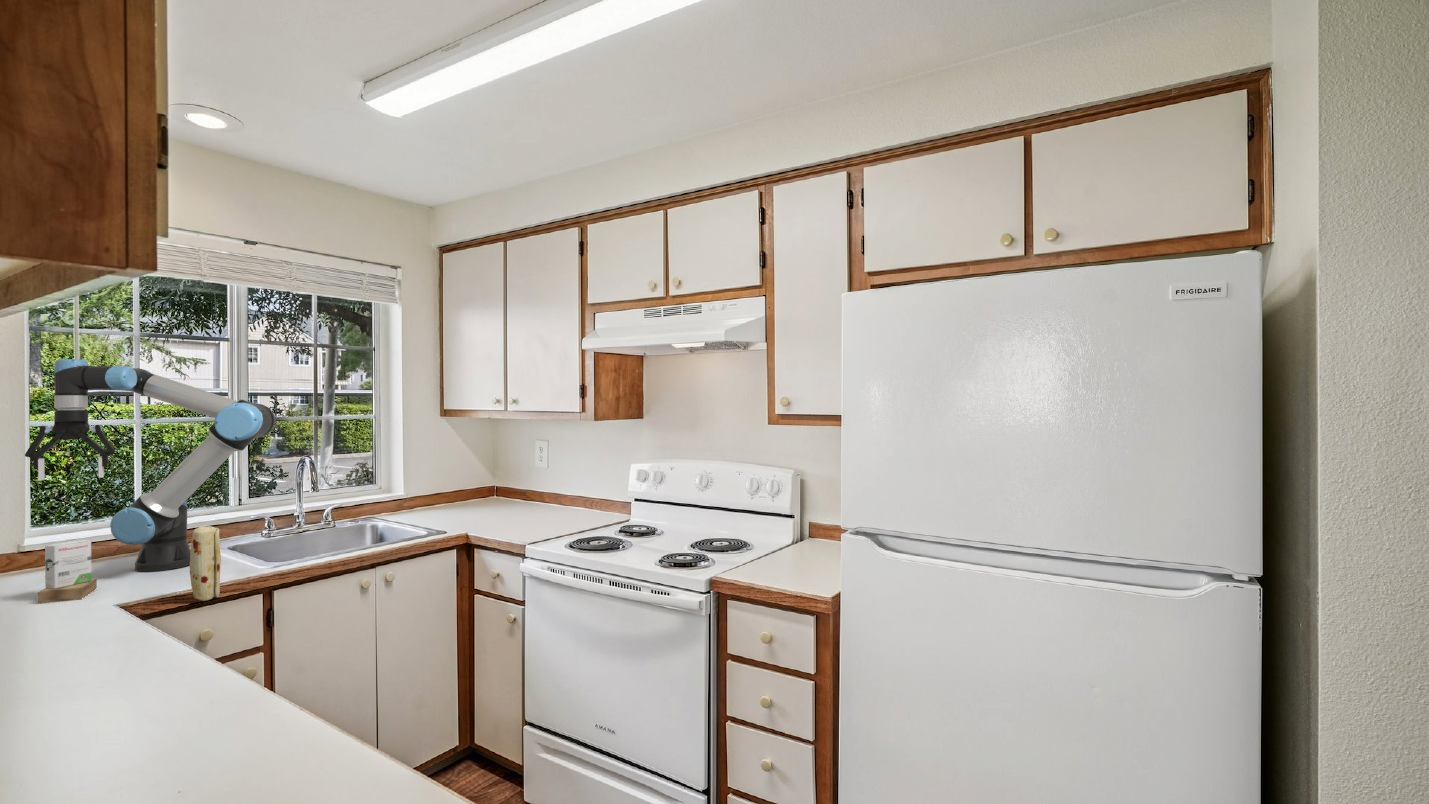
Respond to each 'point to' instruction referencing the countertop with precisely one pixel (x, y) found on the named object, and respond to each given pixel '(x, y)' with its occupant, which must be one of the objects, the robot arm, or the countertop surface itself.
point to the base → (67, 592)
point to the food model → (205, 563)
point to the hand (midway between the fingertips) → (71, 478)
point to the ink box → (68, 563)
